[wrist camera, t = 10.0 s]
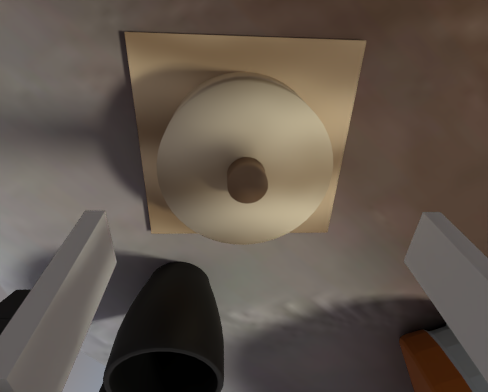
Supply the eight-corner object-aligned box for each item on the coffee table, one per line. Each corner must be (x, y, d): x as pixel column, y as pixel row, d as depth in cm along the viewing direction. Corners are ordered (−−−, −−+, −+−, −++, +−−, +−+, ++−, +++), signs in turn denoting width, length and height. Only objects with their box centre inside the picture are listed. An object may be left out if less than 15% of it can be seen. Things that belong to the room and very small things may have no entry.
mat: (126, 31, 19) (124, 31, 19) (363, 40, 20) (366, 40, 20) (152, 230, 27) (151, 233, 27) (325, 229, 28) (327, 232, 28)
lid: (159, 68, 20) (140, 85, 15) (328, 74, 21) (359, 92, 16) (172, 213, 26) (160, 259, 21) (305, 214, 26) (324, 257, 22)
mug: (91, 301, 31) (42, 407, 22) (180, 234, 27) (161, 330, 19) (154, 340, 34) (133, 445, 26) (241, 285, 31) (247, 385, 22)
